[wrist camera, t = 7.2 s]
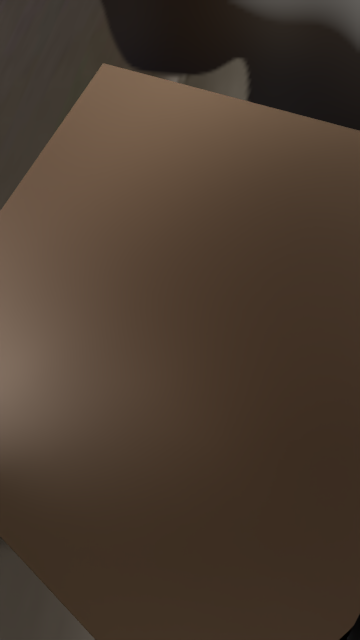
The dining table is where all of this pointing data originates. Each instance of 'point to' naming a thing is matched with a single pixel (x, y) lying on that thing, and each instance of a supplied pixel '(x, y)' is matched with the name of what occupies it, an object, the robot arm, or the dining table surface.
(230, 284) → the walnut block
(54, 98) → the dining table surface
